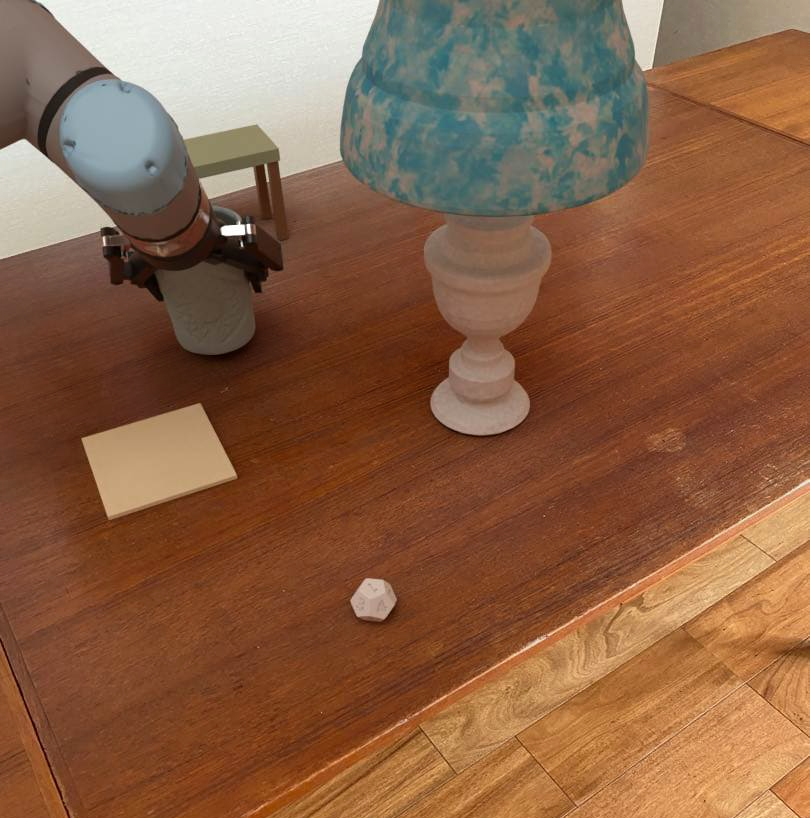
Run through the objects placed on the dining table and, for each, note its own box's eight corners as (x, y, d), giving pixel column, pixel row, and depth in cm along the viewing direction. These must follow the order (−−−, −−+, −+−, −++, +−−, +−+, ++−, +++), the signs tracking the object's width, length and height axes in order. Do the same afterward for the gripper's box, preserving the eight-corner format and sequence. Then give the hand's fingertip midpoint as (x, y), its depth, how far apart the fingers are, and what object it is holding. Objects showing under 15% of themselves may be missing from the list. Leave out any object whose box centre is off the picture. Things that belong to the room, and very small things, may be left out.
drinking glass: (219, 369, 89) (195, 263, 81) (148, 341, 93) (118, 237, 85) (280, 321, 95) (264, 218, 86) (210, 297, 99) (188, 195, 90)
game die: (383, 588, 71) (382, 563, 69) (404, 619, 69) (403, 595, 66) (344, 604, 70) (341, 580, 68) (365, 636, 68) (362, 613, 65)
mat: (82, 441, 84) (81, 438, 84) (201, 406, 88) (200, 402, 87) (109, 520, 77) (107, 516, 77) (237, 478, 80) (237, 474, 80)
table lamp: (499, 528, 75) (541, 8, 46) (311, 414, 86) (247, -62, 57) (647, 398, 87) (756, -83, 57) (464, 313, 98) (477, -126, 69)
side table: (152, 241, 111) (129, 150, 103) (270, 212, 116) (257, 124, 107) (168, 269, 106) (145, 177, 98) (290, 239, 111) (278, 148, 102)
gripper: (32, 270, 71) (108, 328, 93) (305, 248, 72) (315, 310, 94) (21, 178, 70) (100, 258, 93) (295, 157, 72) (308, 241, 94)
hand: (209, 284), depth 93 cm, fingers closed on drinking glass, 10 cm apart
